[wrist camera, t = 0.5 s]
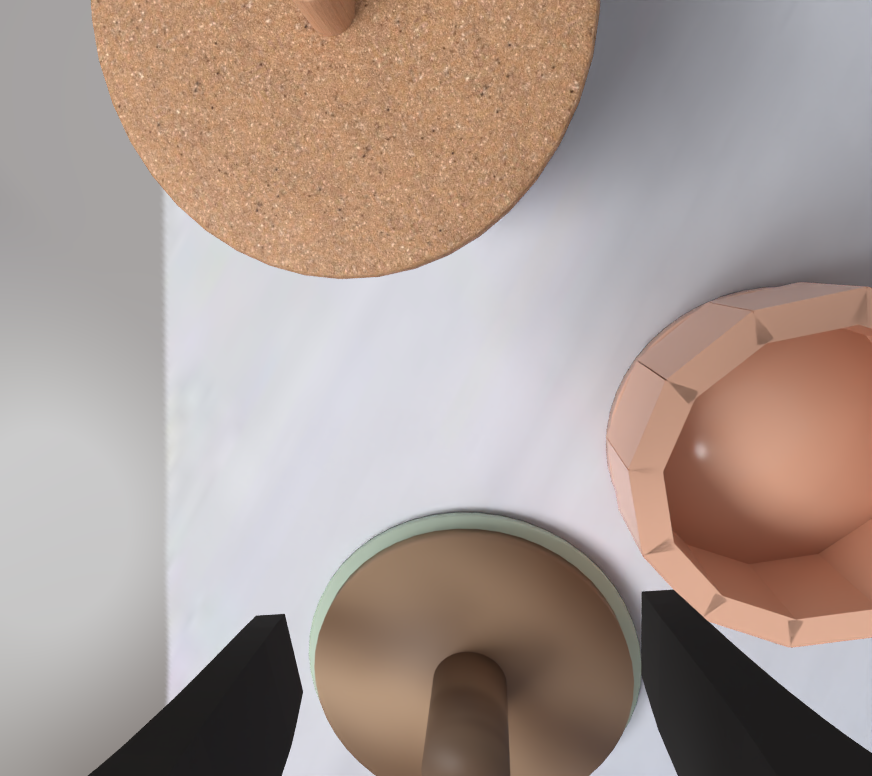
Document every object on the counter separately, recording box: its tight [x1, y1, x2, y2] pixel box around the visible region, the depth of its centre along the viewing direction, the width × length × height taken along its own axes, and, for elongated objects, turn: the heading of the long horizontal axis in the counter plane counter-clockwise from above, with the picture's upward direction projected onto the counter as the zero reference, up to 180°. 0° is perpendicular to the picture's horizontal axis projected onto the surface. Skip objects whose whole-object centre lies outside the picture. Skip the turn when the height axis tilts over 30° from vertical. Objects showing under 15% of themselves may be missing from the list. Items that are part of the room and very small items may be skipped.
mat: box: [309, 513, 641, 730], centre depth 23 cm, size 14×14×1 cm
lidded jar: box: [91, 0, 600, 279], centre depth 14 cm, size 11×11×9 cm
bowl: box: [606, 282, 872, 648], centre depth 18 cm, size 11×11×4 cm
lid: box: [314, 529, 634, 776], centre depth 20 cm, size 13×13×5 cm
